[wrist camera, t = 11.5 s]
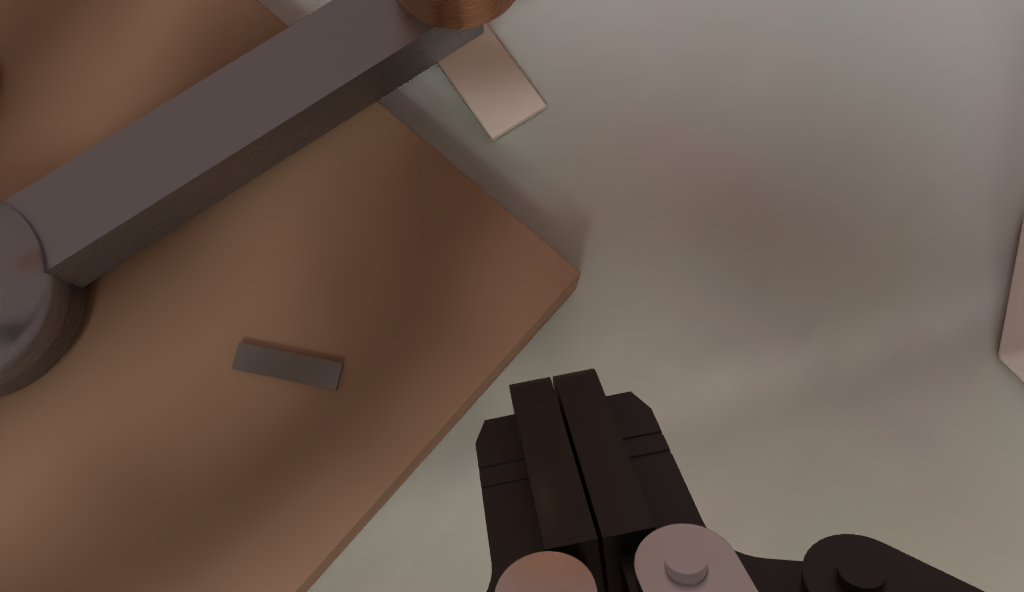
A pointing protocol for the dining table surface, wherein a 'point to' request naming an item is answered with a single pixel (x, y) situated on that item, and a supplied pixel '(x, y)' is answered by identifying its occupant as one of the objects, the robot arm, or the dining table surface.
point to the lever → (202, 157)
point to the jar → (1015, 318)
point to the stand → (250, 318)
